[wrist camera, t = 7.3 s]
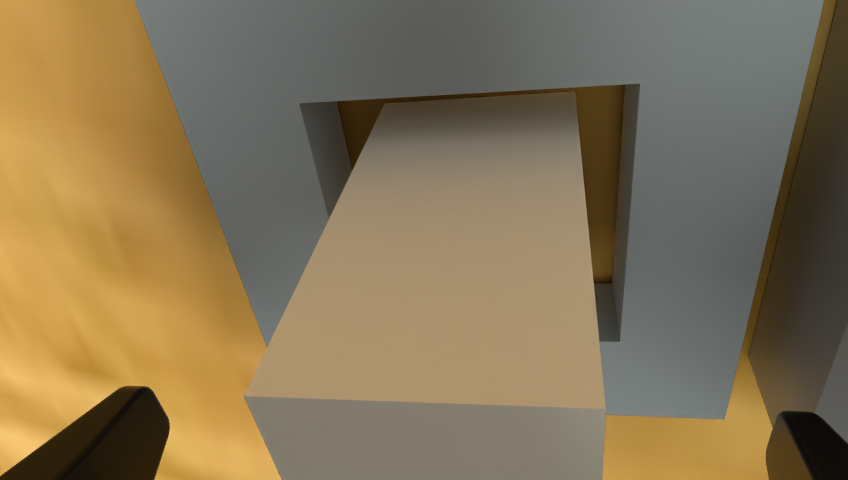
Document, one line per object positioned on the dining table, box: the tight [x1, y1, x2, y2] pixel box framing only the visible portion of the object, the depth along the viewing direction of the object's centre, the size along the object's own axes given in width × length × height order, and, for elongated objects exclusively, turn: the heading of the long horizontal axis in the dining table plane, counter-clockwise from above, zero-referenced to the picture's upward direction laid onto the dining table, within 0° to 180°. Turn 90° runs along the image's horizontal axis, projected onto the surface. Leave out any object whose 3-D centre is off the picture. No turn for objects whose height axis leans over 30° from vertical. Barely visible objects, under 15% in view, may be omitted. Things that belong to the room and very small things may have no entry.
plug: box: [244, 91, 606, 480], centre depth 11 cm, size 4×4×8 cm
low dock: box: [135, 0, 824, 419], centre depth 13 cm, size 11×11×2 cm
